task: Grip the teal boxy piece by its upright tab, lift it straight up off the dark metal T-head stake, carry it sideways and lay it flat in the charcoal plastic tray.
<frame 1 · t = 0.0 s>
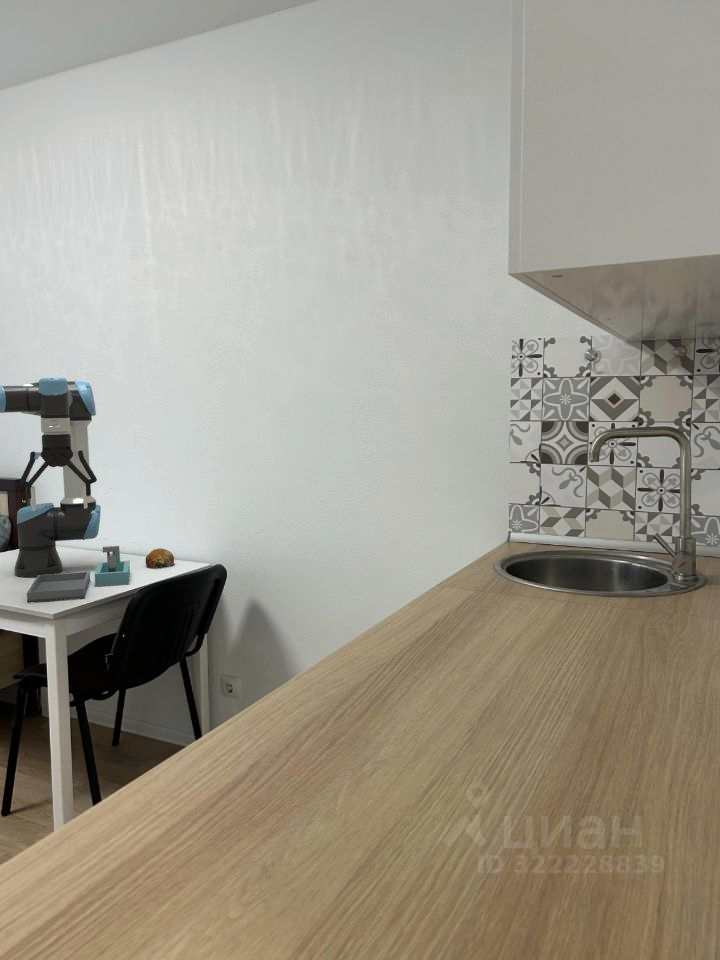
hand: (60, 509, 217), 28 cm above the table, fingers open, 13 cm apart
t stake: (112, 581, 248), on the table
teal boxy piece: (113, 579, 252), on the table
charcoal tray: (60, 591, 237), on the table
bread roll: (159, 566, 272), on the table
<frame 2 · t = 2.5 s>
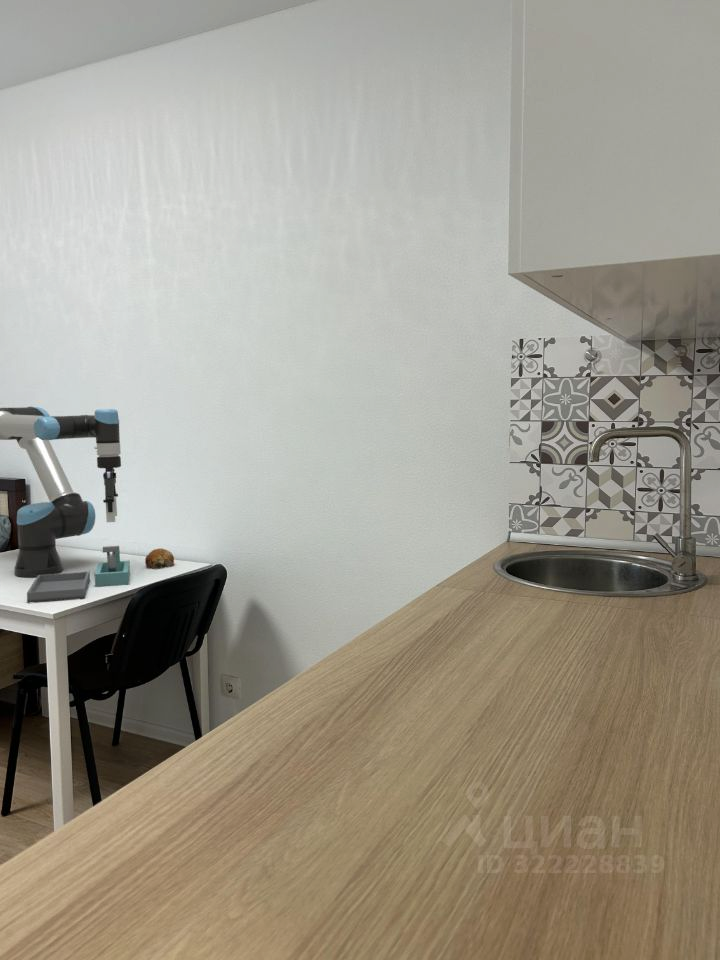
hand: (112, 519, 258), 19 cm above the table, fingers open, 13 cm apart
nothing on the table moved.
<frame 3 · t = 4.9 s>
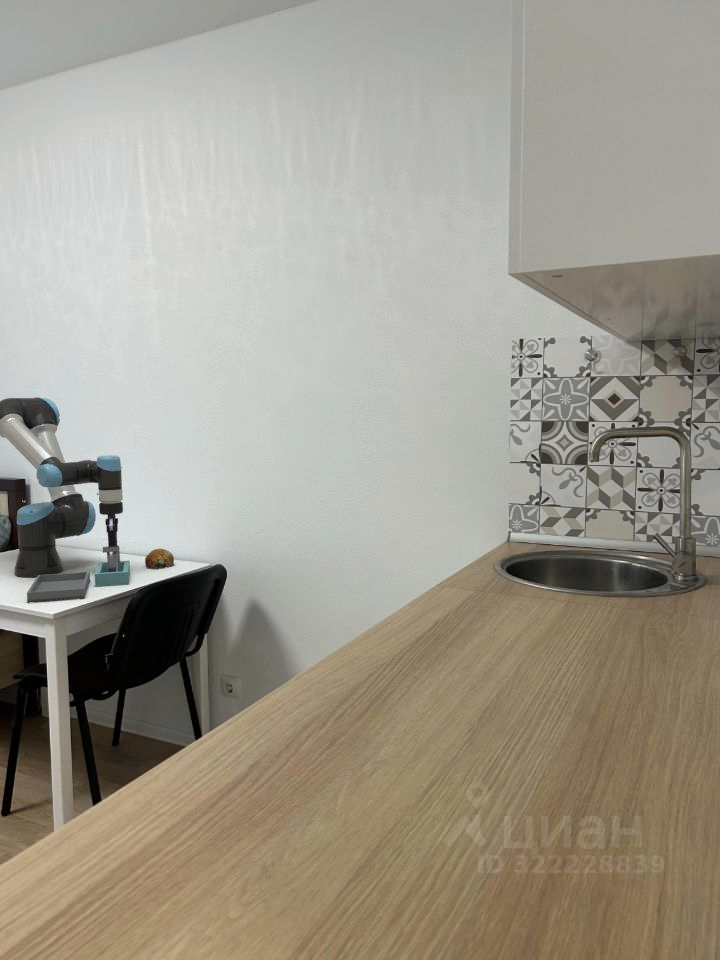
hand: (114, 570, 260), 1 cm above the table, fingers closed on teal boxy piece, 1 cm apart
teal boxy piece: (113, 579, 252), on the table, touching gripper
everything else where it was.
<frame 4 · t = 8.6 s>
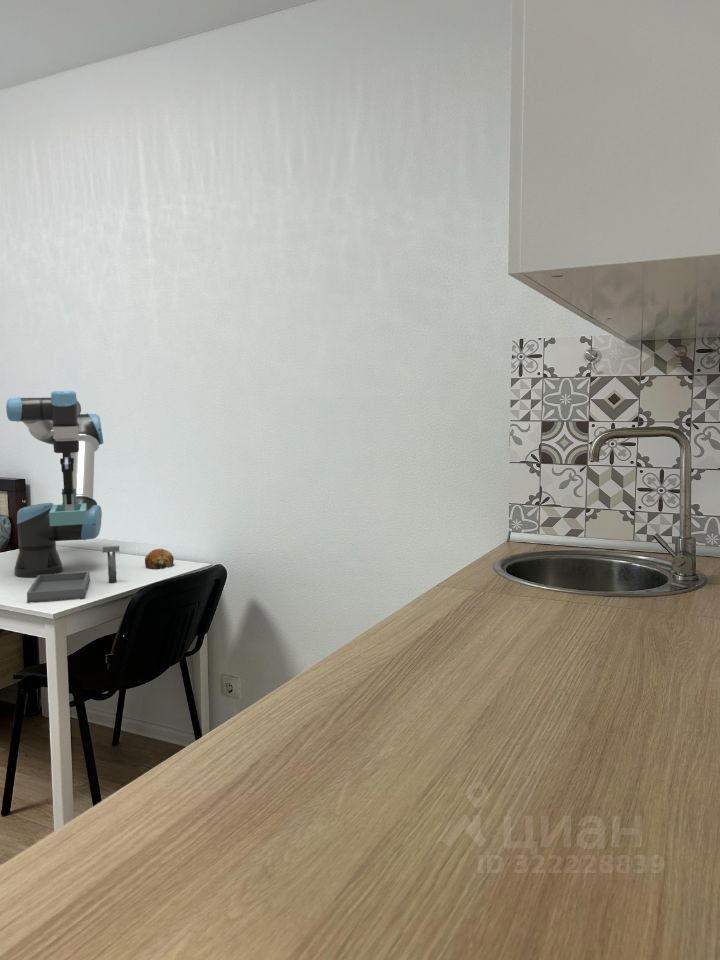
hand: (70, 513, 245), 22 cm above the table, fingers closed on teal boxy piece, 1 cm apart
teal boxy piece: (69, 520, 238), point 21 cm above the table, touching gripper
everything else where it was.
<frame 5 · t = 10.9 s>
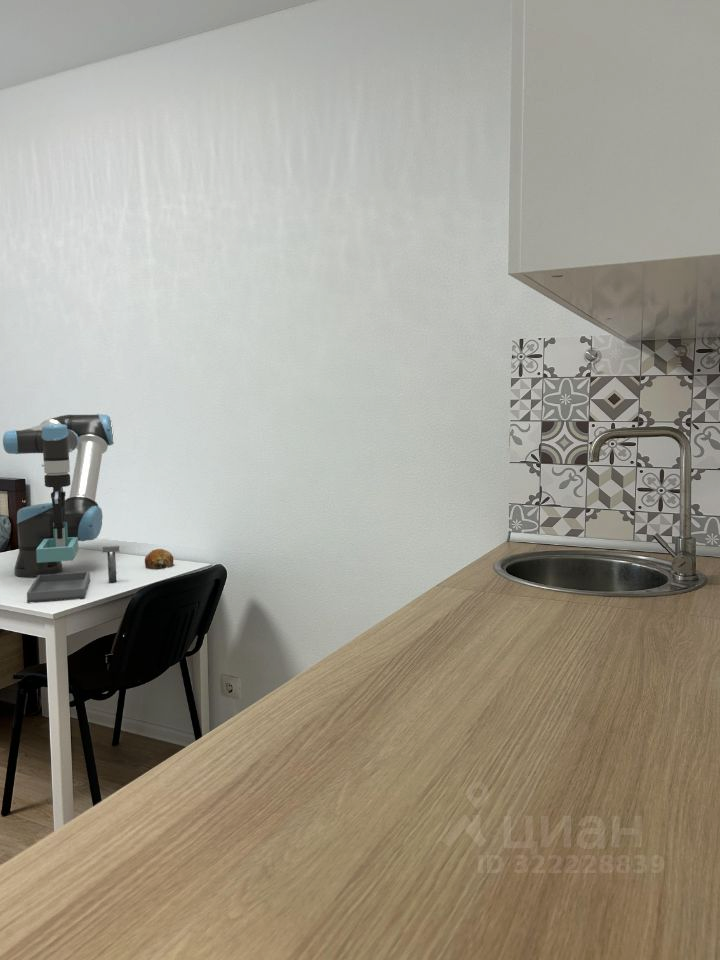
hand: (61, 547, 244), 12 cm above the table, fingers closed on teal boxy piece, 1 cm apart
teal boxy piece: (58, 555, 236), point 11 cm above the table, touching gripper
everything else where it was.
when the fingers open (4 cm above the table, at t = 12.5 s): teal boxy piece drops 3 cm, resting on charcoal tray.
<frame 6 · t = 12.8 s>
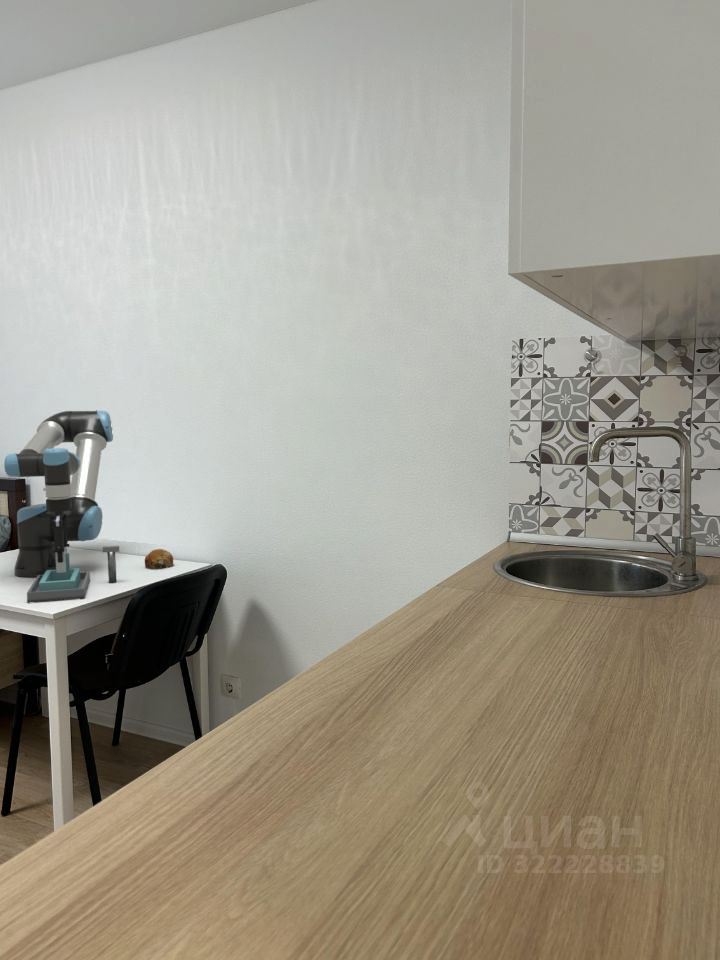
hand: (62, 569, 245), 5 cm above the table, fingers open, 6 cm apart
teal boxy piece: (60, 588, 238), point 1 cm above the table, touching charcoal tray
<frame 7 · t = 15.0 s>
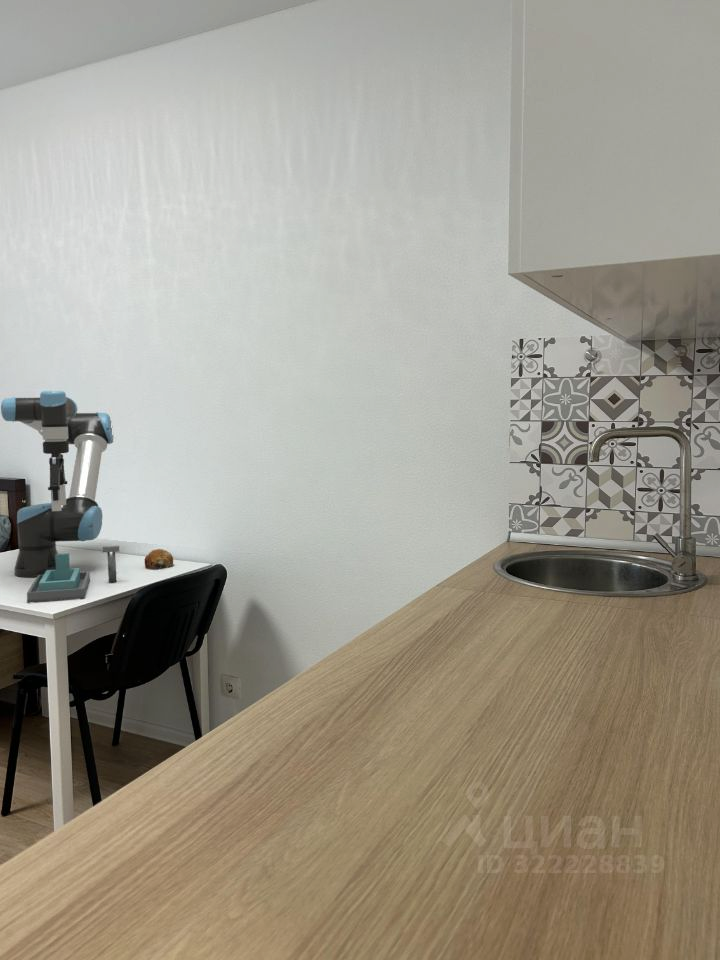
hand: (59, 508, 243), 25 cm above the table, fingers open, 13 cm apart
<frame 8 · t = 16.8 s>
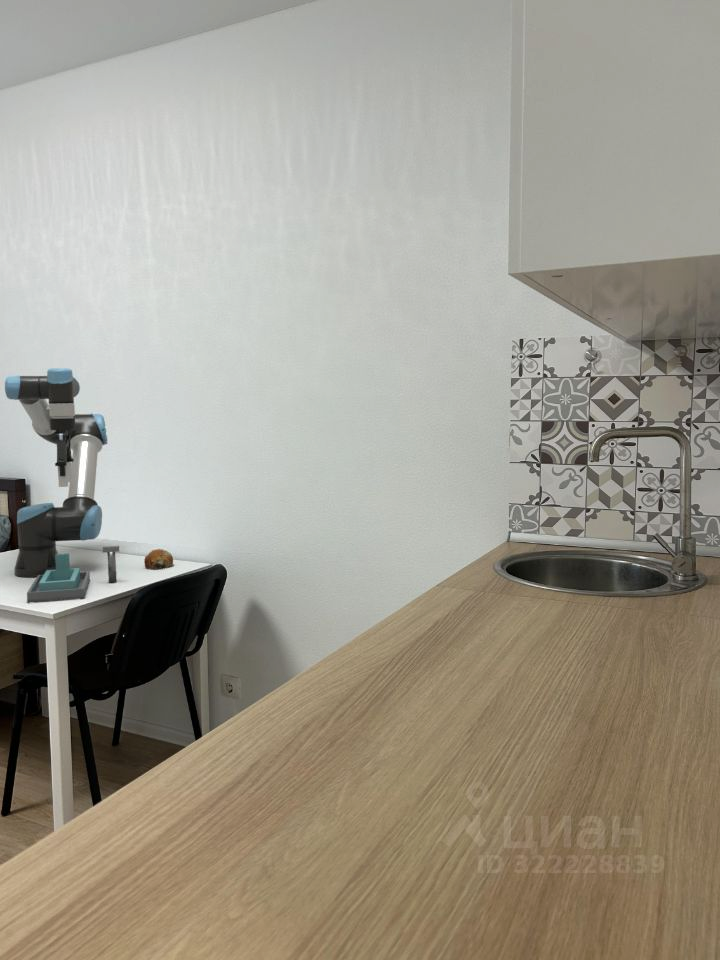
hand: (65, 484, 246), 32 cm above the table, fingers open, 13 cm apart
at the end: teal boxy piece 0.8 cm off-centre on the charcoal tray, point 0.8 cm above the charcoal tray's base; teal boxy piece tilted 0°; the gripper is holding nothing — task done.
